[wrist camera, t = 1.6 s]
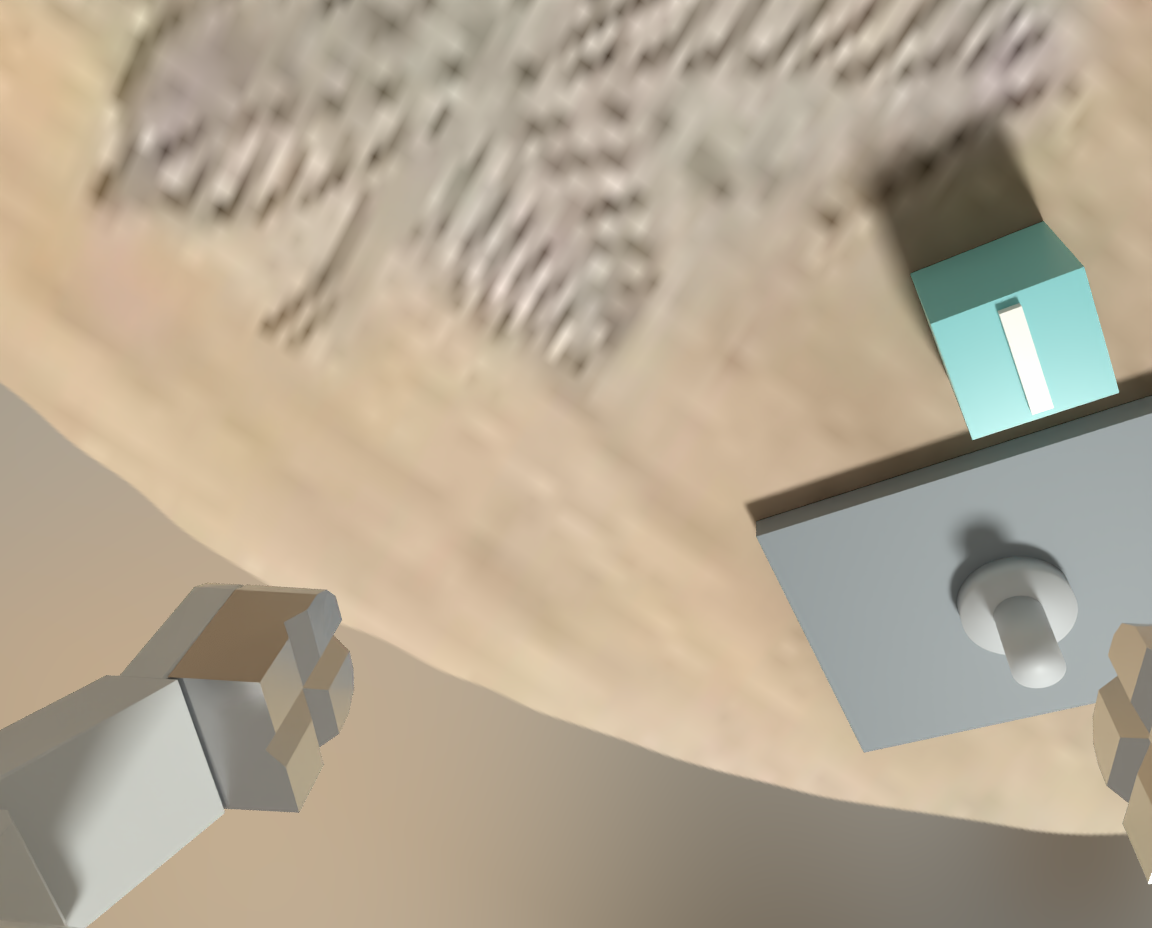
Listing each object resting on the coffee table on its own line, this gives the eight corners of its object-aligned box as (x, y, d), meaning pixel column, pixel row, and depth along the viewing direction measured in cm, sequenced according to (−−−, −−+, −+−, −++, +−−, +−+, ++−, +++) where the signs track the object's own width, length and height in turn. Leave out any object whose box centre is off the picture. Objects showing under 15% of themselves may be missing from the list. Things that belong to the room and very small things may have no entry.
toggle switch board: (1201, 379, 36) (1268, 452, 31) (1264, 645, 41) (1329, 741, 37) (756, 521, 42) (756, 599, 38) (861, 734, 48) (872, 826, 43)
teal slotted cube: (1043, 220, 34) (1086, 270, 29) (1076, 334, 36) (1122, 396, 31) (910, 273, 36) (931, 327, 31) (948, 379, 38) (974, 444, 33)
